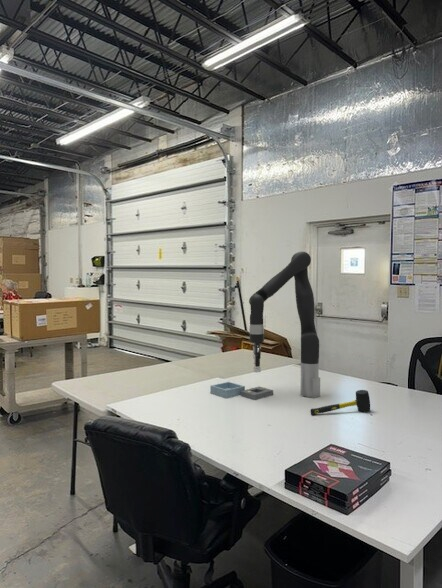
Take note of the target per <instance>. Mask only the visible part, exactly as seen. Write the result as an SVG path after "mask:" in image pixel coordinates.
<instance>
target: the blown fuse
mask: <svg viewBox="0 0 442 588" xmlns="http://www.w3.org/2000/svg"><path fill="white" fill-rule="evenodd" d="M261 355H262V354H260V357H261ZM257 356H259V355H257ZM252 357H253V370H252V371H253V372H254V373H261V371H262V369H261V365H260V366H259V367H256V366H255V355H254V353H253V355H252ZM261 358H262V357H261Z"/></svg>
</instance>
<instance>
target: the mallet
mask: <svg viewBox="0 0 442 588" xmlns="http://www.w3.org/2000/svg"><path fill="white" fill-rule="evenodd" d="M353 406H356V408H357V410H358V412H359V413H368V412H370V411H371V400H370V394H369V391H368V390H366V389H358V390H356V391H355V400H352V401H348V402H343V403H336V404H330V405H325V406H321V407H316V408H310V410H309V413H310V415H311V416H314V415H317V414H325V413H329V412H333V411H336V410H340V409H345V408H348V407H353Z"/></svg>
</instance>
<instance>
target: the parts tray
mask: <svg viewBox="0 0 442 588" xmlns="http://www.w3.org/2000/svg"><path fill="white" fill-rule="evenodd" d="M243 390H246V386H245V385H242V384H238V383H235V382H231V381H225V382H220V383H217V384H211V385H210V391H209V392H210V394H213V395H215V396H218V397H221V398H224V399H229V398H233V397H236V396H241V391H243Z"/></svg>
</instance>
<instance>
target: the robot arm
mask: <svg viewBox="0 0 442 588" xmlns="http://www.w3.org/2000/svg"><path fill="white" fill-rule="evenodd" d="M311 262H312V258H311V255H310V254H309V252H306V251H298V252H295V253H294V254H293V255H292V257H291V260H290V262H289V263H288V264H287V265H286V266H285V267H284V268H283V269H282V270H280V271H279V272H278V273H277V274H276V275H274V276H273V277H271V278H270V279H269V280H268V281H267V282H266V283H265V284H263V285H262V287H261V288H259V289H258V290H257V291H255V292H254V293H253V294H252V295H250V297H249V298H248V299H249V300H248V303H249V306H250V314H249V342H250V343H252V344H253V345H252V353H253V354H254V355H255V366H256V367H259V366H260V367H261V358H262V357H260V354H261V353H262V351H261V349H262V345H261V344H260V343H263V342H264V341H265V326H264V310H265V309H264V307H265V302H266V301H267V300H268V299H269V298H272V297H273V296H274V295H275V294H276V293H277V292H279V290H281V289H282V288H283V287H284V286H285V285H286V284H287V283H288V282H289V281H290V280H291V279H292V278H293V277H294V293H295V301H296V302H295V303H296V309H297V314H298V318H299V322H300V396H302V397H304V398H313V399H314V398H317V397H320V396H321V377H320V376H319V375H320V373H319V372H320V371H319V368H320V367H319V366H320V365H319V364H320V363H319V362H320V361H319V360H320V359H319V358H320V339H319V336H318V334H317V329H316V323H315V308H316V307H315V306H316V305H315V297H314V292H313V288H312V286H311V282H310V280H309V279H310V278H309V270H308V267H309V266H310V265H311V264H312V263H311ZM257 355H259V356H257ZM261 355H262V354H261Z"/></svg>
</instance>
